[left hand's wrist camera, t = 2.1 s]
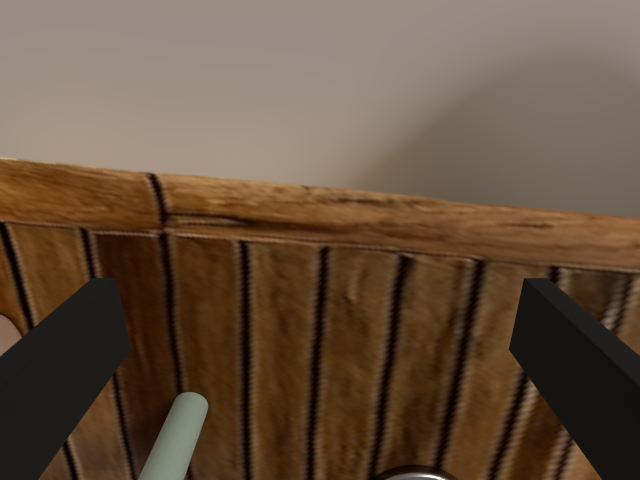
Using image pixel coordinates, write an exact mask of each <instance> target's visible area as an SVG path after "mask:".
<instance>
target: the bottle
mask: <svg viewBox="0 0 640 480" xmlns="http://www.w3.org/2000/svg"><path fill="white" fill-rule="evenodd" d="M207 411H208V403H207V401H206V399H205V398H204V397H203V396H201V395H200V394H197V393H194V392H185V393H182V394H180V395H179V396H177V397H176V399H175V401H174V403H173V405H172V408H171V410H170V412H169V414H168V416H167V418H166V421H165V423H164V425H163V427H162V429H161V431H160V434H159V436H158V438H157V440H156V442H155V444H154V447H153V449H152V451H151V453H150V455H149V457H148V460H147V462H146V464H145V466H144V468H143V470H142V473H141V475H140V477H139V479H138V480H184V477H185V474H186V471H187V468H188V466H189V463H190V460H191V457H192V454H193V451H194V448H195V445H196V442H197V440H198V437H199V434H200V431H201V428H202V425H203V422H204V419H205V416H206V414H207Z"/></svg>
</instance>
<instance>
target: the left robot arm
mask: <svg viewBox="0 0 640 480" xmlns="http://www.w3.org/2000/svg"><path fill="white" fill-rule="evenodd" d="M130 350H131V347H130V342H129V338H128V333H127V328H126V323H125V319H124V314H123V309H122V305H121V300H120V295H119V290H118V286H117V281H116V278H92V279H91V280H90V281H88V282H87V283H86V284H85V285H84V286H83V287H81V288H80V289H79V290H78V291H77V292H75V293H74V294H73V295H72V296H71V297H70V298H68V299H67V300H66V301H65V302H64V303H62V304H61V305H60V306H59V307H58V308H57V309H55V310H54V311H53V312H52V313H51V314H49V315H48V316H47V317H46V318H45V319H44V320H42V321H41V322H40V323H39V324H38V325H36V326H35V327H34V328H33V329H32V330H31V331H29V332H28V333H27V334H26V335H25V336H23V337H22V338H21V339H20V340H19V341H18V342H16V343H15V344H14V345H13V346H12V347H10V348H9V349H8V350H7V351H6V352H5V353H3V354H2V355H1V356H0V480H38V479H39V477H40V476H41V474H42V473H43V472H44V470H45V469H46V467H47V466H48V465H49V463H50V462H51V460H52V459H53V458H54V456H55V455H56V453H57V452H58V451H59V449H60V448H61V446H62V445H63V444H64V442H65V441H66V440H67V438H68V437H69V435H70V434H71V433H72V431H73V430H74V428H75V427H76V426H77V424H78V423H79V421H80V420H81V419H82V417H83V416H84V414H85V413H86V412H87V410H88V409H89V407H90V406H91V405H92V403H93V402H94V400H95V399H96V398H97V396H98V395H99V393H100V392H101V391H102V389H103V388H104V386H105V385H106V384H107V382H108V381H109V379H110V378H111V377H112V375H113V374H114V373H115V371H116V370H117V368H118V367H119V366H120V364H121V363H122V361H123V360H124V359H125V357H126V356H127V354H128V353H129V352H130ZM509 350H510V352H511V353H512V354H513V356H514V357H515V359H516V360H517V361H518V363H519V364H520V366H521V367H522V368H523V370H524V371H525V373H526V374H527V375H528V377H529V378H530V379H531V381H532V382H533V384H534V385H535V386H536V388H537V389H538V391H539V392H540V393H541V395H542V396H543V398H544V399H545V400H546V402H547V403H548V405H549V406H550V407H551V409H552V410H553V412H554V413H555V414H556V416H557V417H558V419H559V420H560V421H561V423H562V424H563V426H564V427H565V428H566V430H567V431H568V433H569V434H570V435H571V437H572V438H573V440H574V441H575V442H576V444H577V445H578V446H579V448H580V449H581V451H582V452H583V453H584V455H585V456H586V458H587V459H588V460H589V462H590V463H591V465H592V466H593V467H594V469H595V470H596V472H597V473H598V474H599V476H600V477H601V479H602V480H640V356H639V355H638V354H637V353H635V352H634V351H633V350H632V349H631V348H630V347H628V346H627V345H626V344H625V343H624V342H622V341H621V340H620V339H619V338H618V337H617V336H615V335H614V334H613V333H612V332H611V331H609V330H608V329H607V328H606V327H605V326H604V325H602V324H601V323H600V322H599V321H598V320H596V319H595V318H594V317H593V316H592V315H591V314H589V313H588V312H587V311H586V310H585V309H583V308H582V307H581V306H580V305H579V304H578V303H576V302H575V301H574V300H573V299H572V298H570V297H569V296H568V295H567V294H566V293H565V292H563V291H562V290H561V289H560V288H559V287H557V286H556V285H555V284H554V283H553V282H552V281H550V280H549V279H548V278H524V281H523V286H522V290H521V295H520V300H519V305H518V309H517V314H516V319H515V323H514V328H513V333H512V338H511V342H510V347H509ZM374 480H457V479H456V478H455V477H453V476H452V475H450V474H449V473H447V472H445V471H443V470H440V469H437V468H433V467H427V466H407V467H401V468H397V469H394V470H390V471H388V472H386V473H384V474H382V475H380V476H378V477H377V478H375V479H374Z"/></svg>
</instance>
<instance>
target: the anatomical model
mask: <svg viewBox="0 0 640 480" xmlns="http://www.w3.org/2000/svg"><path fill="white" fill-rule="evenodd" d="M21 338H22V336H21V335H20V333H19V331H18V330H17V328H16V327H15V326H14V325H13V323H12V322H11V321H10V320H9V319H8V318H6V317H5V316H3V315H0V356H1V355H2V354H3V353H5V352H6V351H7V350H8V349H9V348H10V347H12V346H13V345H14V344H15V343H16V342H18V341H19V340H20V339H21Z"/></svg>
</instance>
